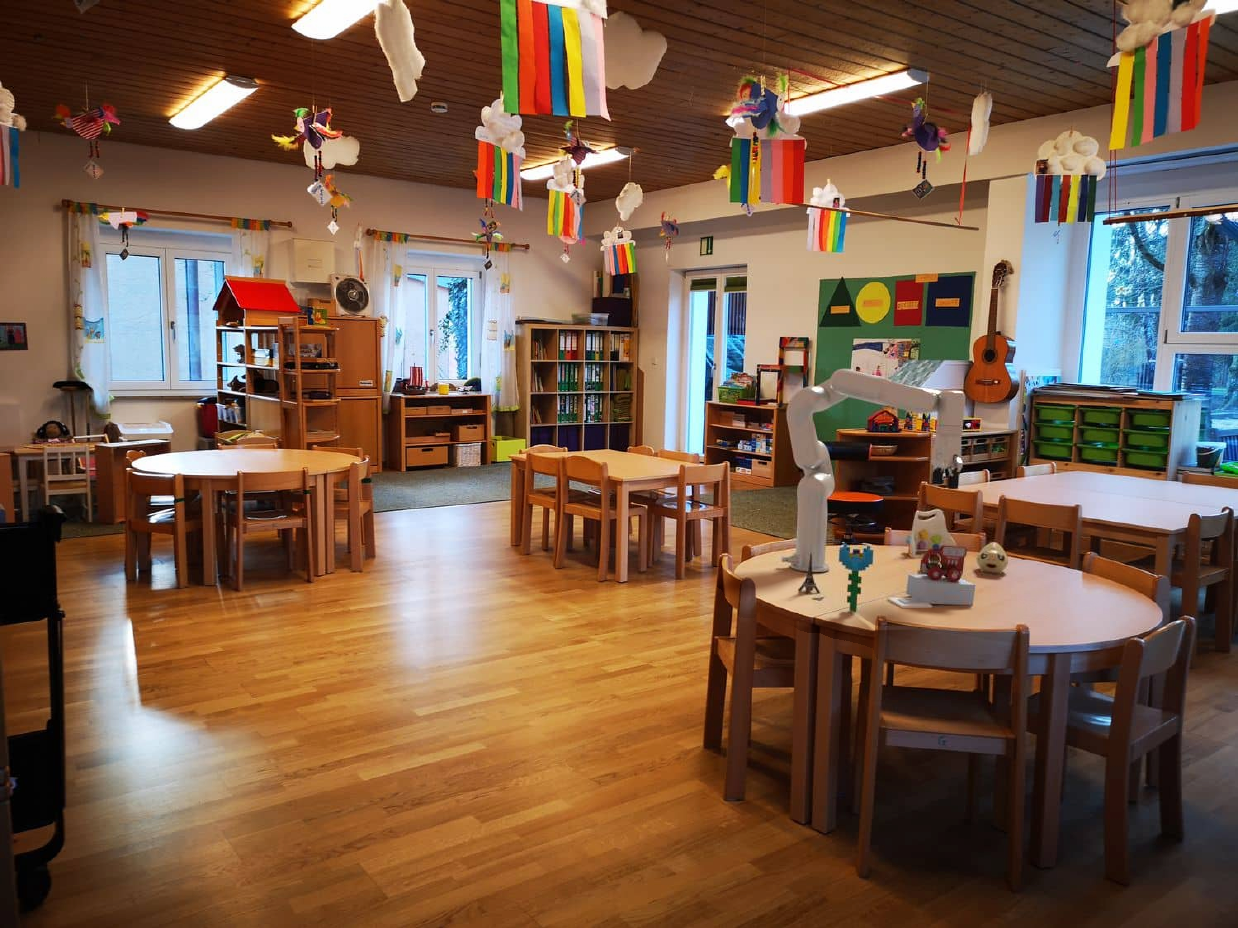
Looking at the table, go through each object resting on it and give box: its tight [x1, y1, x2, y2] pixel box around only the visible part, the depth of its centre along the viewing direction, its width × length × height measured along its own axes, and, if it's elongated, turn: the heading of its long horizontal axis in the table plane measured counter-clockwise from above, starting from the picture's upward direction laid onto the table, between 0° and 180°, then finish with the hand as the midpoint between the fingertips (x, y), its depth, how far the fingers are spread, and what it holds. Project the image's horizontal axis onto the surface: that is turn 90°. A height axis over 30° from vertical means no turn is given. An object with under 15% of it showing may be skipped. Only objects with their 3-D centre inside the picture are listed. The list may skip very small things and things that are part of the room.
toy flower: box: [838, 543, 874, 612], centre depth 244 cm, size 9×9×18 cm
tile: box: [887, 597, 933, 609], centre depth 253 cm, size 9×9×1 cm
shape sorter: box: [905, 509, 957, 559], centre depth 319 cm, size 20×10×18 cm, turn 112°
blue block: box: [905, 573, 976, 606], centre depth 258 cm, size 15×11×6 cm
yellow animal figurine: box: [976, 541, 1009, 574], centre depth 295 cm, size 10×12×11 cm
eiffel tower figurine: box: [798, 554, 825, 601], centre depth 263 cm, size 15×10×13 cm
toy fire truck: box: [919, 544, 968, 582], centre depth 258 cm, size 7×12×10 cm, turn 82°
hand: (944, 486), depth 270 cm, fingers open, 9 cm apart
